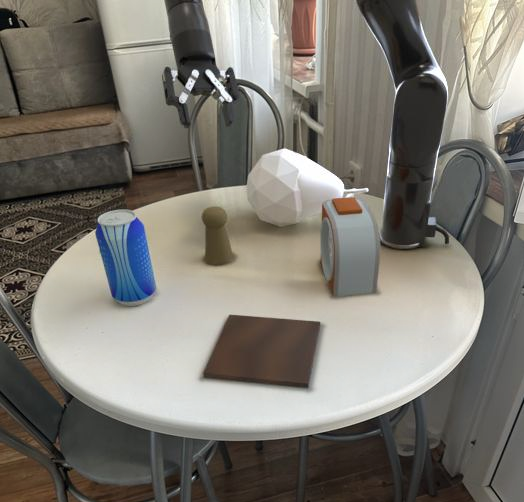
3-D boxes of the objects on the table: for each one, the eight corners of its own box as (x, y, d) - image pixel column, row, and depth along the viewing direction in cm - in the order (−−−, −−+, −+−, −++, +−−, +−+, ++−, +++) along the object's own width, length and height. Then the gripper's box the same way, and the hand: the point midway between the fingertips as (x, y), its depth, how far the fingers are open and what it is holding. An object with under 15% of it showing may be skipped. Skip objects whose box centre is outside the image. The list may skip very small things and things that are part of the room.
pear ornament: (240, 136, 108) (373, 140, 102) (262, 170, 130) (371, 174, 124) (233, 213, 109) (364, 221, 103) (255, 234, 131) (364, 241, 125)
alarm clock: (317, 259, 105) (319, 196, 96) (357, 256, 105) (362, 192, 97) (331, 296, 93) (334, 228, 85) (376, 292, 93) (384, 224, 85)
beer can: (116, 286, 99) (96, 209, 89) (159, 283, 100) (143, 205, 90) (109, 310, 93) (87, 228, 83) (155, 306, 93) (138, 225, 83)
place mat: (320, 326, 86) (320, 321, 85) (308, 388, 73) (308, 383, 73) (229, 319, 89) (229, 314, 88) (203, 377, 76) (202, 372, 76)
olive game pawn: (229, 265, 104) (224, 215, 97) (201, 264, 105) (194, 214, 98) (236, 252, 109) (232, 203, 102) (209, 251, 110) (203, 202, 103)
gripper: (158, 25, 88) (178, 119, 90) (232, 28, 94) (250, 116, 95) (150, 48, 95) (168, 135, 97) (219, 50, 101) (236, 132, 102)
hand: (209, 125), depth 96 cm, fingers open, 8 cm apart
